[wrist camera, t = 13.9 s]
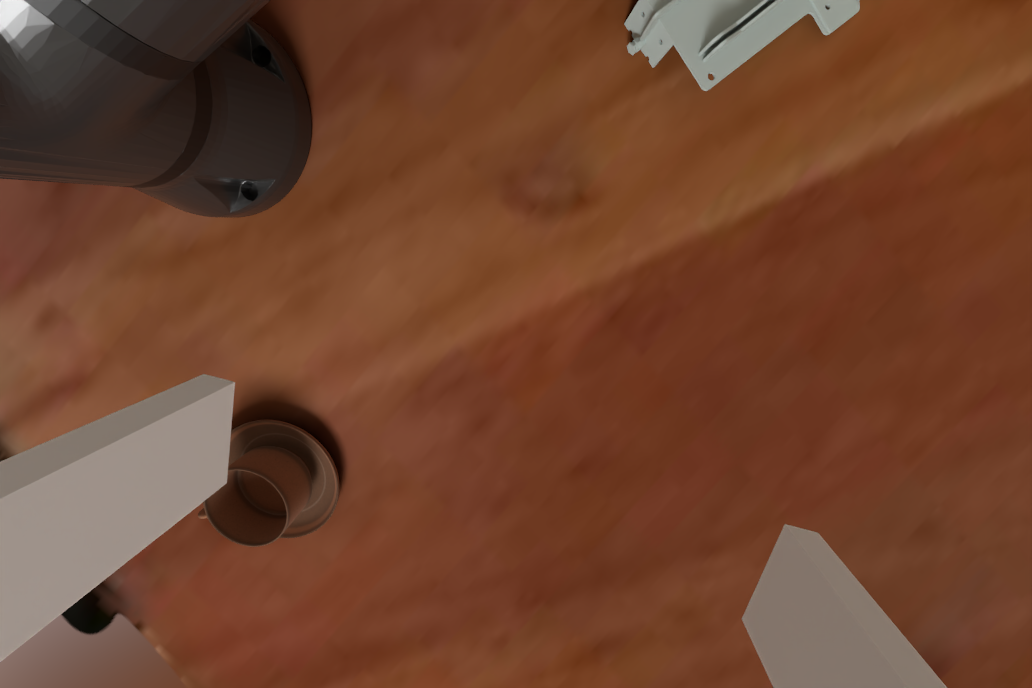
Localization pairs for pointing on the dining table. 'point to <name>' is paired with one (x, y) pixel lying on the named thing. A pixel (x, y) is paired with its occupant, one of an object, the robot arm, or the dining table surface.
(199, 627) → the dining table surface
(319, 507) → the cup and saucer
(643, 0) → the metal bracket
